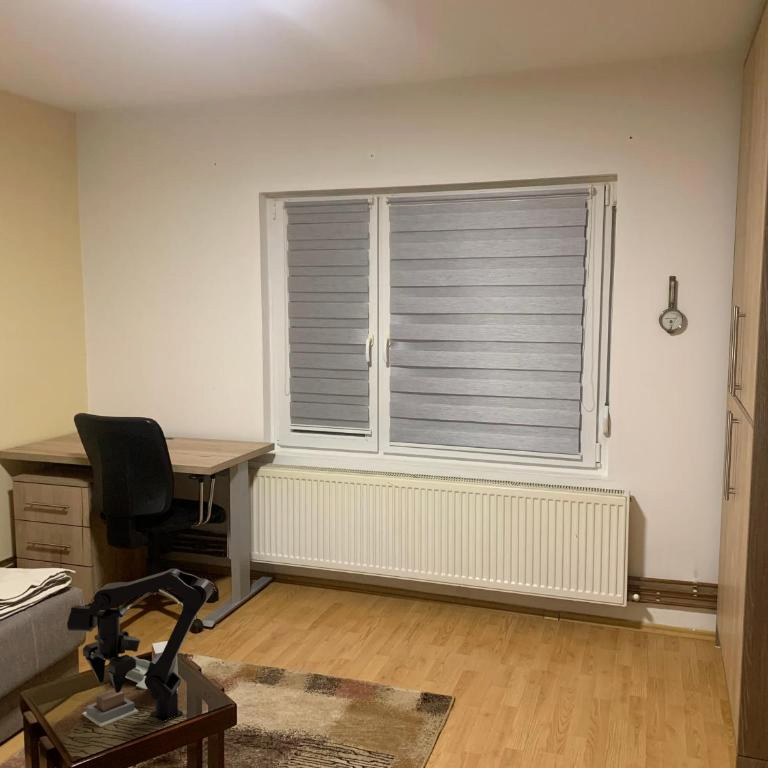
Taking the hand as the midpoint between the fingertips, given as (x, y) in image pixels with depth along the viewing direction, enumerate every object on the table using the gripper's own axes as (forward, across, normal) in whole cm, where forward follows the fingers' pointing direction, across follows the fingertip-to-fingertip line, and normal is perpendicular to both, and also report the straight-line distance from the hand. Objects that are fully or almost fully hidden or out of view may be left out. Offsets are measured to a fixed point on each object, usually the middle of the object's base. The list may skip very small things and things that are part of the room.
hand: (109, 687), depth 214 cm
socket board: (+7, 0, 0) cm, 7 cm away
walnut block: (+7, 0, 0) cm, 7 cm away
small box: (+8, +2, -18) cm, 20 cm away
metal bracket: (+8, +15, -18) cm, 25 cm away
